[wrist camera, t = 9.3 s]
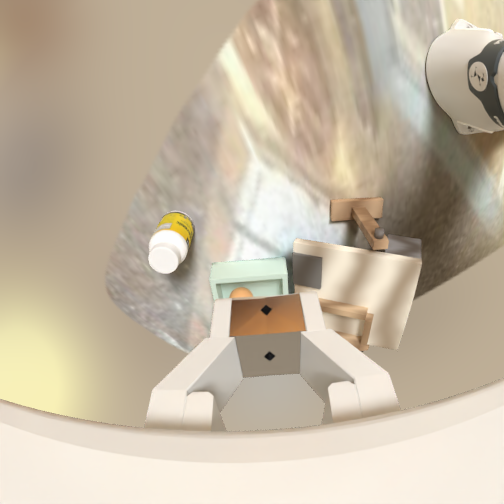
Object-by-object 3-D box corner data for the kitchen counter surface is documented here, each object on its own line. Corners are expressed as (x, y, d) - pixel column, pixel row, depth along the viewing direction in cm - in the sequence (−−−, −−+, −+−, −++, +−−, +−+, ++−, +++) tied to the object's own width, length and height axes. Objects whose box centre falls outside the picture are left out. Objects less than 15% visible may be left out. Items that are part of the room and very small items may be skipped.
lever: (421, 236, 40) (421, 271, 33) (402, 319, 48) (396, 358, 42) (309, 219, 47) (289, 248, 41) (309, 300, 56) (291, 334, 49)
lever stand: (381, 196, 45) (411, 231, 35) (367, 307, 56) (383, 351, 47) (330, 199, 45) (351, 236, 36) (326, 312, 57) (337, 358, 47)
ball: (244, 300, 48) (222, 293, 50) (247, 319, 50) (226, 312, 52) (257, 285, 51) (236, 279, 53) (259, 304, 53) (238, 298, 55)
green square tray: (284, 256, 50) (287, 273, 47) (287, 310, 56) (289, 328, 53) (212, 262, 51) (209, 279, 47) (223, 315, 57) (221, 333, 53)
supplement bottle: (200, 235, 48) (190, 273, 40) (169, 245, 49) (154, 282, 41) (186, 204, 46) (172, 237, 37) (154, 215, 46) (135, 249, 38)
